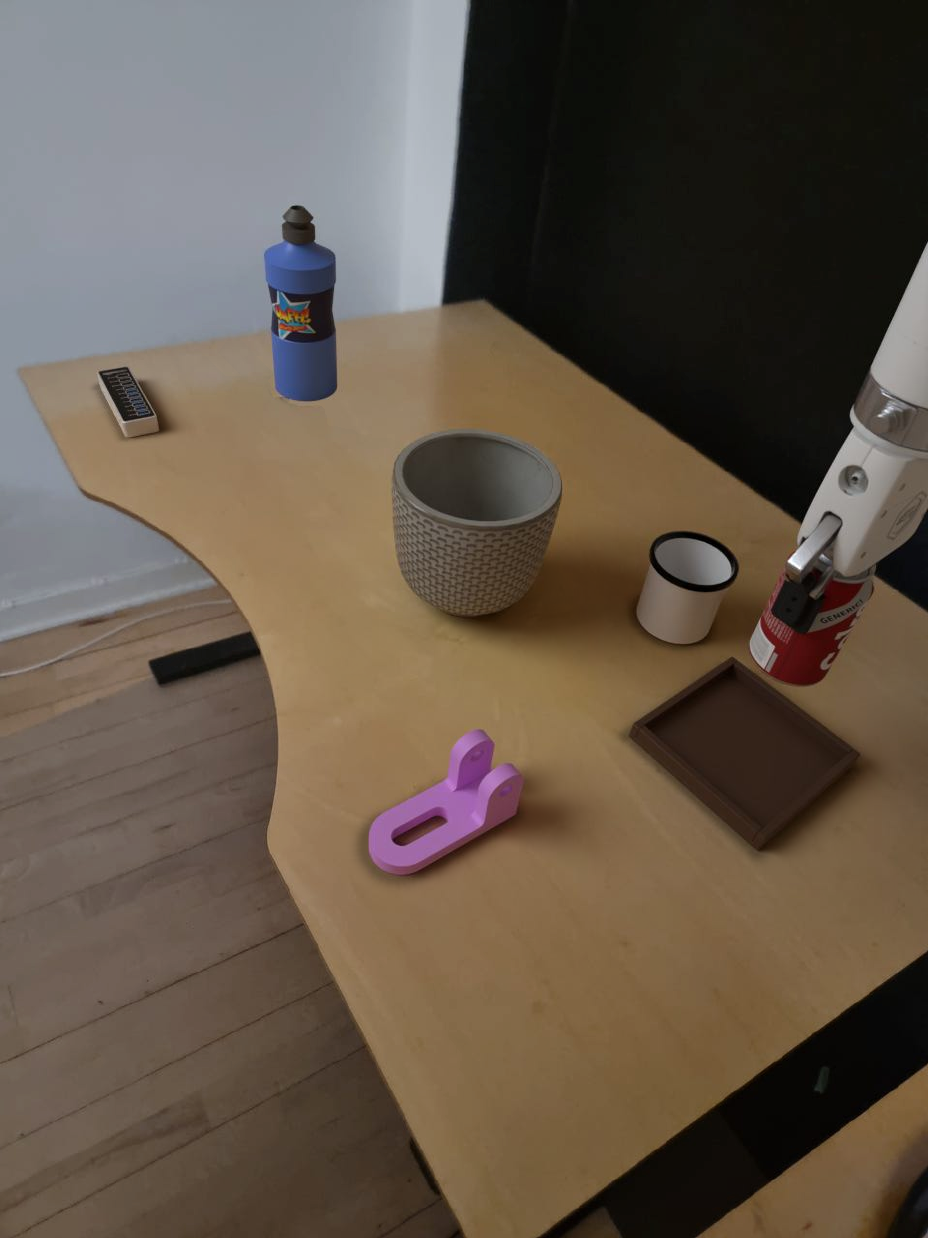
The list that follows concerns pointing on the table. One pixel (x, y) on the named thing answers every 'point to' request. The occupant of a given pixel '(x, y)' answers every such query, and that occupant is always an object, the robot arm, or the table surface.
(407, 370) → the table surface
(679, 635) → the mug
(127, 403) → the multiport hub
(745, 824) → the tray
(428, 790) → the bracket
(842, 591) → the soda can
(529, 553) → the planter
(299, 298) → the water bottle
